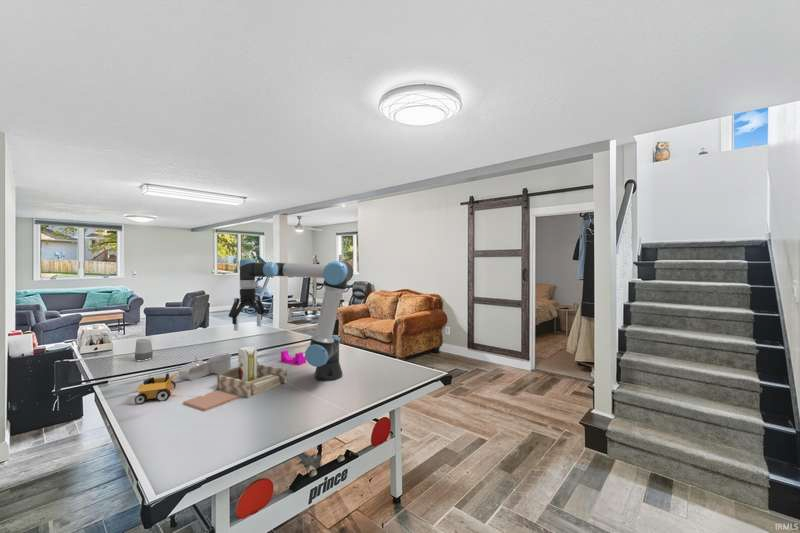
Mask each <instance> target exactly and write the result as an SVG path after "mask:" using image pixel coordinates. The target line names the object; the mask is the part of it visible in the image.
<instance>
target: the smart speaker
mask: <svg viewBox="0 0 800 533" xmlns="http://www.w3.org/2000/svg"><path fill="white" fill-rule="evenodd" d="M149 358H151V359H152V358H153V345H152V339H151V340H150V339H147V338H138V339H136V341H135V351H134V359H135V361H136V360H145V359H149Z"/></svg>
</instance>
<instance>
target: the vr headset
mask: <svg viewBox="0 0 800 533" xmlns="http://www.w3.org/2000/svg"><path fill="white" fill-rule="evenodd" d="M212 373H213V371H212V369H211V365H210V362H209V361H204V360H202V359H201V360H200V359H199V360H198V358H197V356H195V357H194V361H192V362H189V363H186V364H184V365H183V366H181V367H180V368H179V371H178V377H179V379H181V380H189V381H194V380H198V379H200V378H203V377H206V376H209V375H210V374H212Z"/></svg>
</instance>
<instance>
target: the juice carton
mask: <svg viewBox="0 0 800 533" xmlns="http://www.w3.org/2000/svg"><path fill="white" fill-rule="evenodd" d="M237 356H238V357H237V358H238V366H237V368H238V379H239V380H244V381H251V380H254V379H257V378H258V377H257V362H258V350H257V348H256V347H253V346H251V345H250V346H245V347H239V348H238V352H237Z"/></svg>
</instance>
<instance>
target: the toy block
mask: <svg viewBox="0 0 800 533" xmlns="http://www.w3.org/2000/svg"><path fill="white" fill-rule="evenodd" d="M280 363H283V364H289V365H293V366H301V365H304V364H307V360H306V358H305V355H304V352H300V351H299V352H297V353H295V355H294V356H290V354H289V351H288V350H281V351H280Z"/></svg>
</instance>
